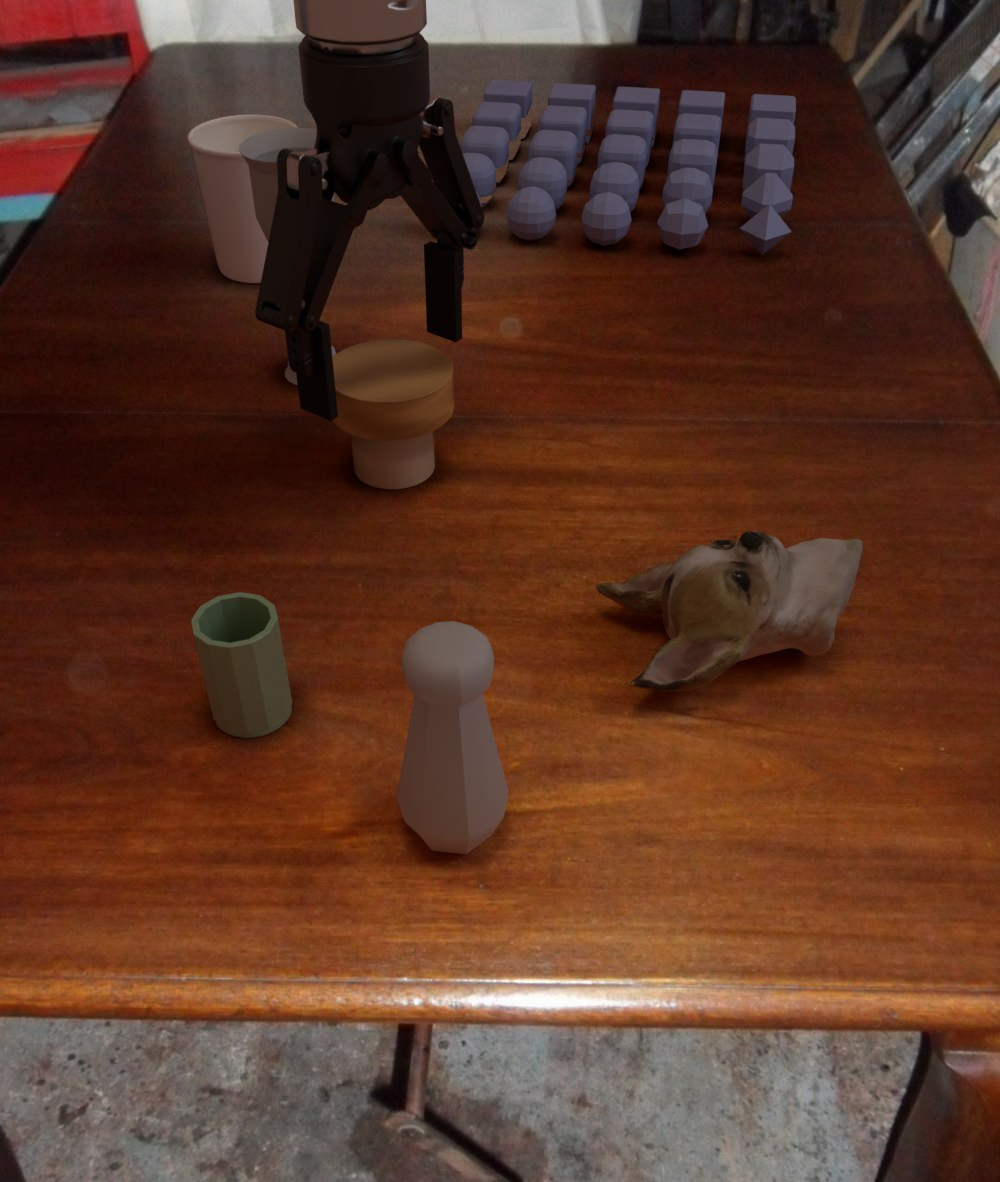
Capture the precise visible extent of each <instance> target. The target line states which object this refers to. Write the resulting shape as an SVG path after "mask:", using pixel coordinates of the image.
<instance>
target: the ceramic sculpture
mask: <svg viewBox="0 0 1000 1182" xmlns="http://www.w3.org/2000/svg"><path fill="white" fill-rule="evenodd" d="M863 551H864V548H863V541H862V540H861V539H859V538H851V539H837V538H828V537H819V538H816V539H812V540H805V541H801V542H798V543H796V544H793V545H791V546H789V547H785V546H784V544H783V542H782V541H781V540H779V539H778V538H777V537H776V536H773V535H768V534H767V533H766V532H764V531H760V530H754V531H751V530H748V531H744V532H743V533H742V534H741V535H740V536H739V538H738V539H737V540H736V539H715V540H712V541H711V542H709V544H707V545H703V544H698V545H695V546H692V547H690V548H688V549H687V550H686V551H685V552H684V553H683V554H681V555H680V556H679V557H677V559H675V560H673V561H671V562H668V563H659V564H656V565H655V566H653V567H650V568H648V569H647V570H646V571H645V572H644V573H638V574H636V575H633V576H632V577H630V578H629V579H627V580H624V581H622V582H602V583H597V584H595V590H597V592H598V593H599V594H601V595H602V596H604V597H606V598H608V599H610V600H611V601H613V602H615V603H616V604H618V605H619V606H622V607H624V608H626V609H628V610H630V611H633V612H634V613H637V614H639V615H646V616H647V615H648V616H649V615H662V622H663V625H664V628H665V631H666V634H667V636H668V637H669V640H668V641H667V642H665V643H664V644H663V645H661V646H660V647H659V648H658V649H657V650H656V652H655V653H654V654H653V656H652V658H651V660H650V661H649V663H647V665H646V667H645V668H644V670H643V671H642V672H641V673H640V674H639V675H638V676H636V677H635V678H633V679H632V680H631V681H630V686H631V687H632V688H636V689H643V690H651V691H658V692H691V691H693V690H697V689H700V688H703V687H704V686H706V685H708V684H710V683H712V682H713V681H715V680H716V679H717V678H719V677H720V676H721V675H723V674H725V672H726V671H728V670H729V669H730V668H731V667H733V666H734V665H736V664H737V663H739V662H742V661H745V660H750V659H752V658H756V657H758V656H763V655H766V654H772V653H775V652H779V651H783V650H786V649H797V650H799V651H800V652H801V653H803V654H804V655H807V656H811V657H817V656H821V655H823V654H825V653H826V652H827V651H828V650H830V648H831V647H832V645H833V643H834V641H835V629H836V626H837V622H838V619H839V617H840V616H841V615H842V613H843V611H844V610H845V609H846V607H847V606H848V604H849V602H850V598H851V595H852V594H853V593H852V592H853V590H854V588H855V581H856V578H857V575H858V572H859V567H860V562H861V561H860V560H861V557H862V553H863Z"/></svg>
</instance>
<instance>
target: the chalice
mask: <svg viewBox="0 0 1000 1182" xmlns="http://www.w3.org/2000/svg"><path fill="white" fill-rule="evenodd" d="M316 135H317V128H310V127H298V128H283V129H276V130H270V131H265V132H262V133H259V134H256V135H253V136H251V137H249V138H247V139H245V140H244V141H243V142H242V143H241V144H240V145H239V152H240V153H241V155H242V156H243V158H244V159H245V161H246V162H247V164H248V166H249V173H250V180H251V187H252V194H253V201H254V208H255V215H256V219H257V221H258V223H259V225H260V227H261V229H262V231H263V233H264V235H265V237H266V239H267V241H268V242H269V237H270V232H271V226H272V221H273V216H274V211H275V205H276V200H277V195H278V176H277V156H278V154H279V152H280V151H281V150H282V149H284V148H285V149H290V150H293V151H296V152H304V151H308V150H312V149H314V146H315V141H316ZM332 201H333V202H336V200H335V194H334V195H333V198H332ZM301 307H305V301H304V300H302V304H301ZM331 348H332V357H333V356H334V355H336V354H337V353H338V352H336V348H335V347H334V346H333V345H332V344H331ZM284 378H285V379H286V380H287V381H288V382H289V383H291V384H293V385H295V386H298V384H297V376H296V372H293V371H292V370H291V368H290V366H289V360H287V367H286V368H285V371H284Z"/></svg>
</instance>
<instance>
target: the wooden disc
mask: <svg viewBox="0 0 1000 1182" xmlns="http://www.w3.org/2000/svg"><path fill="white" fill-rule="evenodd" d="M336 353H337V354H336V355H334V356H333V357H332V359H333V369H334V379H335V389H336V399H337V410H338V417H336V418H335V419H333V420H332V421H331V422H332V423H333V424H334V426H336V427H337V428H338V429H339V430H342V431H343V432H344V433H346V434H349V435H350V436H351V435H354V436H357V437H361V438H365V439H371V440H384V441H391V440H403V439H409V438H414V437H418V436H422V435H424V434H427V433H430V432H432V431H433V432H434V431H436V430H437V429H439V428H441V427H442V426H443V425H445V424H446V423H447V422H448V421H449V420H450V419H451V417H452V416H453V413H454V411H455V386H454V385H455V383H454V382H455V381H454V365H453V363H452V360H451V358H450V356H448V355H447V354H446V353H445V352H444V351H443V350H441V349H439V348H438V347H435V346H434V345H431V344H428V343H425V342H421V341H417V340H411V339H402V338H384V339H374V340H373V339H372V340H368V341H364V342H360V343H356V344H354V345H350V346H348V347H346V348H344V349H342V350H340V351H339V352H336Z"/></svg>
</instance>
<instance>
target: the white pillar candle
mask: <svg viewBox="0 0 1000 1182" xmlns="http://www.w3.org/2000/svg"><path fill="white" fill-rule="evenodd" d="M434 438H435V436H434V431H432V432H430V433H427V434H424V435H422V436H418V437H414V438H409V439H403V440H391V441H384V440H371V439H365V438H361V437H357V436H354V435H351V434H350V439H351V440H350V441H351V450H352V461H353V470H354V474H355V476H356V477H357V478H358V479H359V480H360V481H361V482H362V483H364V484H365V485H367V486H370V487H373V488H376V489H382V490H403V489H409V488H412V487H415V486H417V485H418V486H419V485H420V484H422V483H424V482H425V481H426V480H428V479H429V478H431V476H432V474H433V473H434V471H435V469H436V460H435V459H436V458H435V439H434Z"/></svg>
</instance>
